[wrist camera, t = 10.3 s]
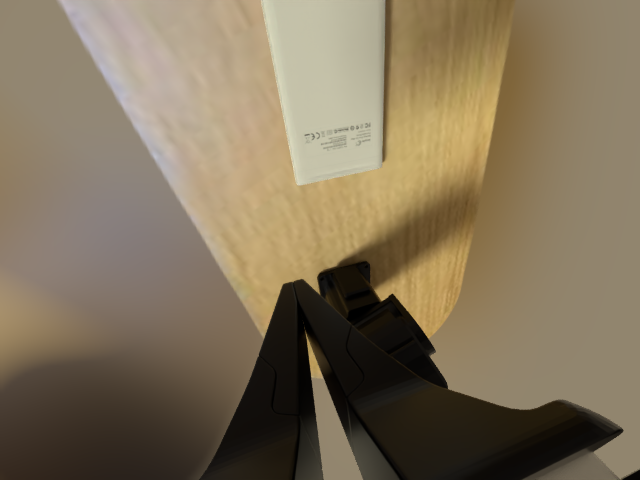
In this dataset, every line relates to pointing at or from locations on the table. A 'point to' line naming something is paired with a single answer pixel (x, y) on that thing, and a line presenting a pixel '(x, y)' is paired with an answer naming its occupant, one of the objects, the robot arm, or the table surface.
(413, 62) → the table surface
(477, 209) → the table surface
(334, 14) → the external hard drive
